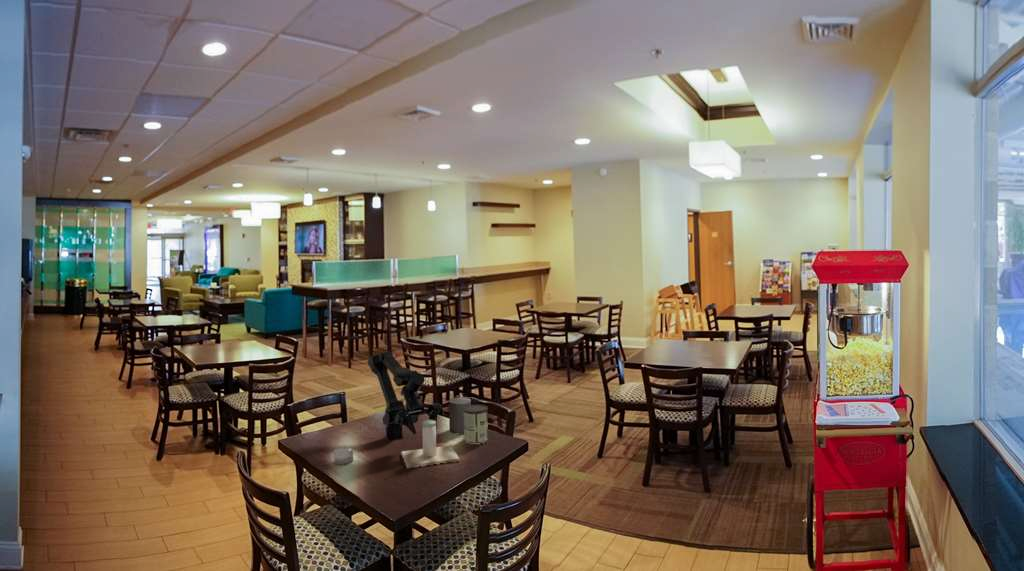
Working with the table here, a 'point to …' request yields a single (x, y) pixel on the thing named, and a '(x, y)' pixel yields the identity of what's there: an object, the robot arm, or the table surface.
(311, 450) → the table surface
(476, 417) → the coffee can
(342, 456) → the grey tin
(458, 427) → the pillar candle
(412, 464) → the birch board
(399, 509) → the table surface
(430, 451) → the white cylinder
